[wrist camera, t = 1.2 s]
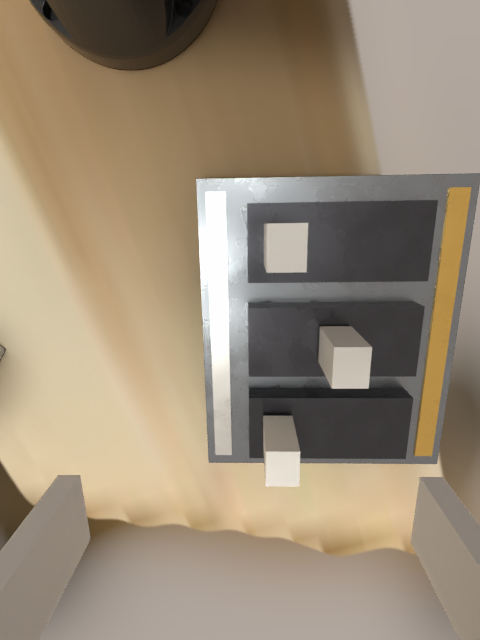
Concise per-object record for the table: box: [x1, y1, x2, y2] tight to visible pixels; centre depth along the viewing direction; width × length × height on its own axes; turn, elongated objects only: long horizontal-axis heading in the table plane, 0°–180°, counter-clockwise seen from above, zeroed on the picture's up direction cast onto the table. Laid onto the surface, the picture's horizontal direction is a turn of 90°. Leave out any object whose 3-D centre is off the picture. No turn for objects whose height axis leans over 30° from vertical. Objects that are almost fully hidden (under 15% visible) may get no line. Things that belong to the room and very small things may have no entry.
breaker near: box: [264, 223, 308, 273], centre depth 24 cm, size 3×2×5 cm
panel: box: [196, 173, 480, 464], centre depth 31 cm, size 26×22×4 cm
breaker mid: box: [318, 326, 372, 389], centre depth 26 cm, size 3×2×5 cm
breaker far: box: [263, 416, 300, 487], centre depth 28 cm, size 3×2×5 cm
